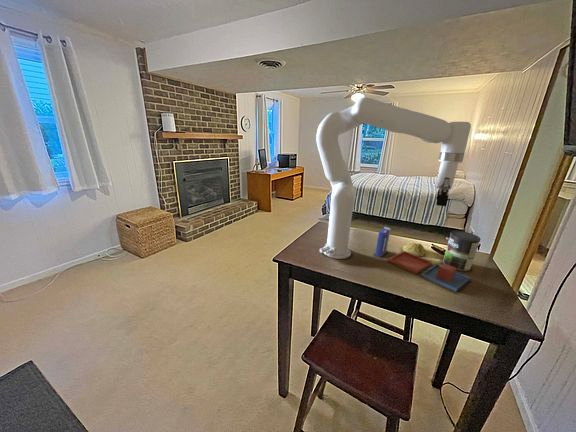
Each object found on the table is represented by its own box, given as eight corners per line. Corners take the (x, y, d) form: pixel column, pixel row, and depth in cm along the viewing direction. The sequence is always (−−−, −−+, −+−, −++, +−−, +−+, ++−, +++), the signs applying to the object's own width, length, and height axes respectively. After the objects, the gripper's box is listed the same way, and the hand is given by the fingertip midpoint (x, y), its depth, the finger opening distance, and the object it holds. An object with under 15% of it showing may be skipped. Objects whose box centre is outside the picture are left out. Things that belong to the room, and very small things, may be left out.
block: (449, 282, 90) (452, 271, 89) (436, 276, 94) (439, 266, 92) (453, 278, 93) (456, 268, 92) (441, 273, 96) (444, 263, 95)
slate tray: (455, 293, 85) (457, 289, 85) (420, 276, 94) (421, 273, 94) (469, 280, 93) (470, 277, 92) (435, 267, 102) (436, 263, 101)
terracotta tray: (416, 274, 96) (416, 271, 95) (387, 261, 105) (388, 258, 104) (430, 265, 103) (431, 261, 103) (403, 253, 112) (404, 250, 112)
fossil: (406, 234, 119) (429, 239, 114) (404, 243, 122) (426, 249, 117) (401, 247, 111) (426, 253, 106) (399, 257, 114) (423, 263, 109)
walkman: (381, 257, 108) (385, 232, 105) (374, 255, 110) (379, 230, 106) (386, 251, 114) (391, 227, 110) (380, 249, 116) (385, 226, 112)
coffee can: (450, 271, 99) (460, 239, 95) (437, 258, 109) (445, 229, 105) (476, 272, 99) (487, 241, 94) (461, 260, 109) (469, 231, 104)
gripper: (438, 155, 97) (430, 197, 103) (439, 158, 83) (429, 206, 89) (461, 156, 94) (451, 199, 99) (465, 160, 80) (453, 209, 85)
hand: (440, 202), depth 94 cm, fingers open, 9 cm apart
